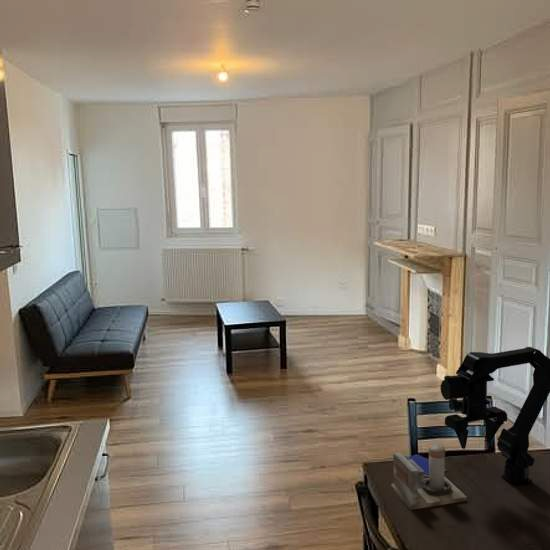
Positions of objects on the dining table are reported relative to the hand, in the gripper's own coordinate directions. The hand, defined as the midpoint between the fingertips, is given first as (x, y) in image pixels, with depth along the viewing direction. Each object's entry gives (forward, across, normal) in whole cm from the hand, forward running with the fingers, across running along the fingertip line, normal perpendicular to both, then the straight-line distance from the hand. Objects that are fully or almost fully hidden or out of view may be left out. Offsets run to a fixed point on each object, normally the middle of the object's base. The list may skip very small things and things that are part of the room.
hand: (475, 445), depth 170 cm
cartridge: (+12, +13, -2) cm, 17 cm away
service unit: (+13, +15, -2) cm, 20 cm away
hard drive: (+14, +7, -17) cm, 23 cm away
